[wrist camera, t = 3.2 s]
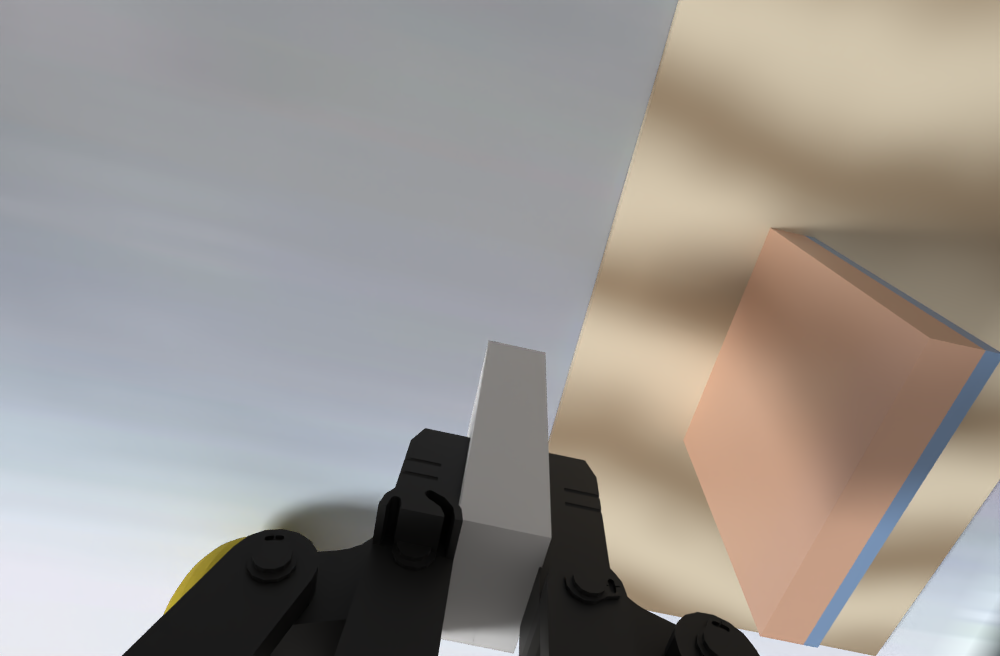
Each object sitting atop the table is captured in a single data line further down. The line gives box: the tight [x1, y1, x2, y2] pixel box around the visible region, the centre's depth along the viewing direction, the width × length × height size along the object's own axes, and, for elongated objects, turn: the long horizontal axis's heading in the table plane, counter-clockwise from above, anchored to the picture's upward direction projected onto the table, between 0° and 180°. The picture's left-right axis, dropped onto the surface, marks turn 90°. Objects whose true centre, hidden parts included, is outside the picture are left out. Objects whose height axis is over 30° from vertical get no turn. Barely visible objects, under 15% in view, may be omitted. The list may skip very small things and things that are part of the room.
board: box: [548, 0, 1000, 656], centre depth 22 cm, size 28×18×1 cm, turn 168°
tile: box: [683, 228, 1000, 648], centre depth 18 cm, size 9×2×9 cm, turn 168°
